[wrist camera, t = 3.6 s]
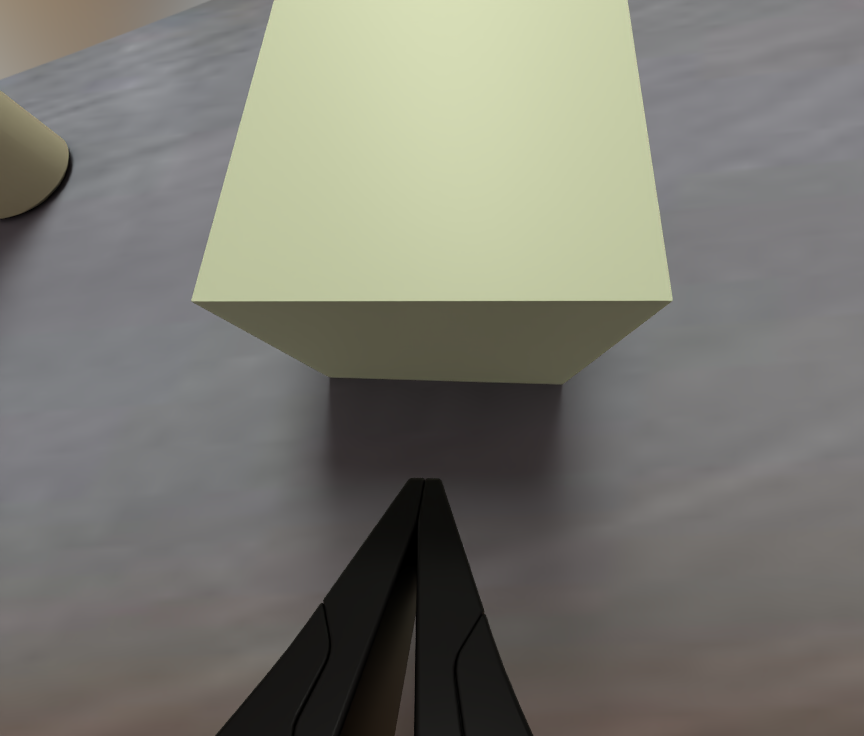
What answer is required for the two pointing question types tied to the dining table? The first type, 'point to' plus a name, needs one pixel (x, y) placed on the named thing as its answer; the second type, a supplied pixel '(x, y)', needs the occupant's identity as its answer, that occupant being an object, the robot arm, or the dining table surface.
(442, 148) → the sage box
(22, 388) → the dining table surface
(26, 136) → the travel mug
